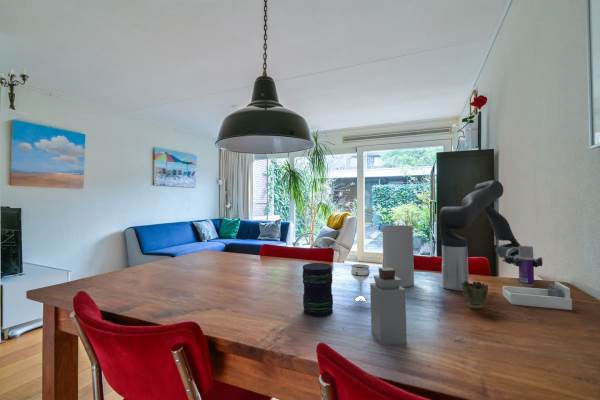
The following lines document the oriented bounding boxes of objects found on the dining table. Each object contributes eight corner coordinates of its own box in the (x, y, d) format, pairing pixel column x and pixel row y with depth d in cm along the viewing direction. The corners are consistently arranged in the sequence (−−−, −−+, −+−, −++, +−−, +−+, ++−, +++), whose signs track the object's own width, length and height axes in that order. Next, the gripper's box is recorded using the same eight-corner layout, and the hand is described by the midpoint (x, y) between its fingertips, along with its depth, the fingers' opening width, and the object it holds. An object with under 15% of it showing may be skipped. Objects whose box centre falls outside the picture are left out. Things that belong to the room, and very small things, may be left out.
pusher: (557, 304, 92) (557, 289, 92) (548, 297, 99) (547, 283, 99) (561, 305, 92) (561, 289, 92) (551, 298, 98) (551, 283, 98)
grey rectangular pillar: (416, 281, 124) (415, 225, 125) (410, 289, 114) (409, 227, 114) (388, 278, 131) (386, 224, 131) (380, 285, 120) (378, 227, 121)
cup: (485, 305, 95) (484, 281, 95) (492, 313, 88) (491, 287, 88) (460, 303, 97) (459, 280, 97) (465, 310, 90) (464, 286, 90)
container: (536, 286, 109) (536, 247, 109) (523, 285, 110) (522, 247, 110) (529, 282, 113) (528, 245, 114) (516, 282, 114) (515, 245, 115)
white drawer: (511, 304, 95) (510, 284, 96) (502, 295, 105) (502, 277, 105) (572, 309, 89) (571, 289, 90) (557, 299, 99) (556, 281, 99)
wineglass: (373, 298, 104) (373, 265, 104) (364, 303, 99) (363, 269, 99) (357, 294, 109) (357, 263, 109) (348, 299, 104) (347, 266, 104)
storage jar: (312, 320, 86) (311, 270, 86) (297, 309, 94) (297, 265, 94) (339, 313, 90) (338, 267, 90) (323, 304, 99) (322, 261, 99)
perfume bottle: (371, 332, 76) (369, 266, 77) (395, 331, 77) (393, 265, 77) (380, 345, 70) (378, 272, 70) (406, 343, 70) (404, 271, 71)
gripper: (497, 247, 128) (505, 253, 113) (538, 249, 121) (551, 255, 106) (498, 263, 128) (505, 271, 113) (538, 266, 121) (552, 275, 106)
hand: (527, 264), depth 109 cm, fingers closed on container, 4 cm apart
